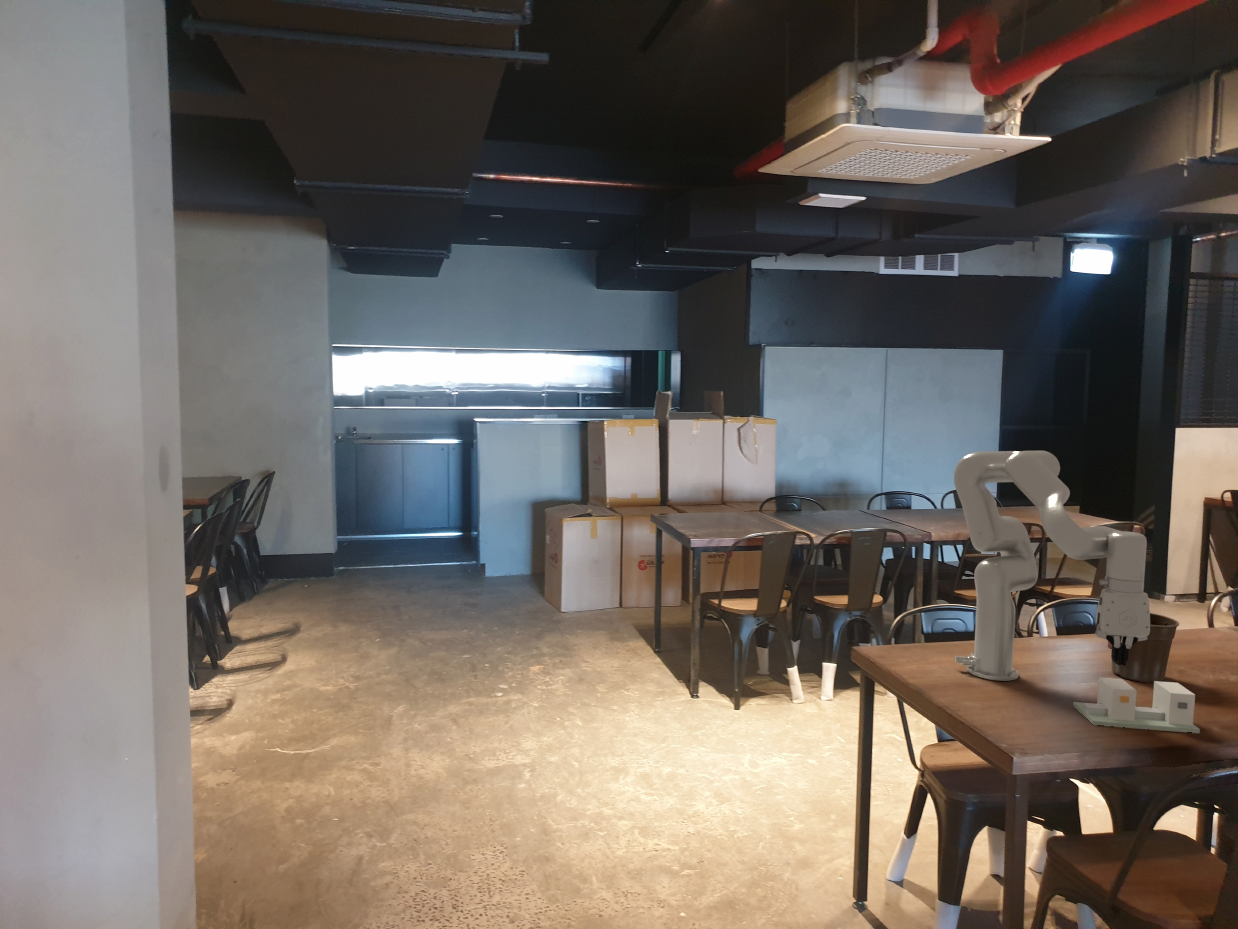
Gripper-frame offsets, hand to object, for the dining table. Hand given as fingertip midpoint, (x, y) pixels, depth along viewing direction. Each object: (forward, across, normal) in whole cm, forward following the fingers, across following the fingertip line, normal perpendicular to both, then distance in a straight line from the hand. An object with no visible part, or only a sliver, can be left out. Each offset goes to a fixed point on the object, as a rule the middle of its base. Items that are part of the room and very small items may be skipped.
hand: (1119, 663), depth 192 cm
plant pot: (+13, +19, +34) cm, 41 cm away
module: (+12, 0, 0) cm, 12 cm away
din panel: (+13, +4, 0) cm, 14 cm away
